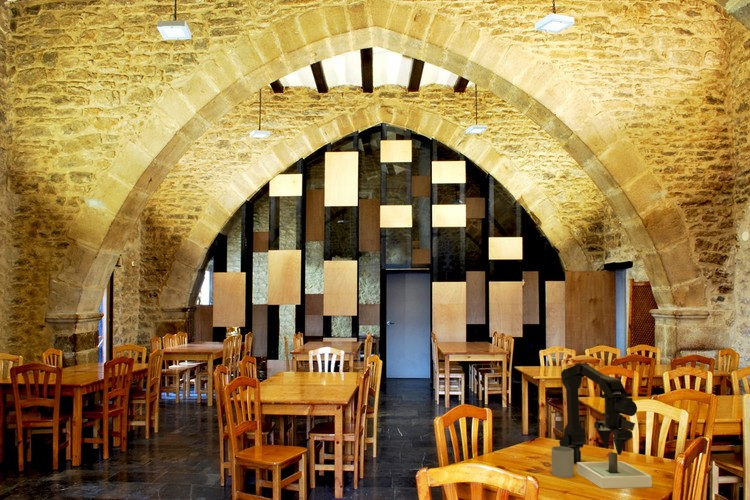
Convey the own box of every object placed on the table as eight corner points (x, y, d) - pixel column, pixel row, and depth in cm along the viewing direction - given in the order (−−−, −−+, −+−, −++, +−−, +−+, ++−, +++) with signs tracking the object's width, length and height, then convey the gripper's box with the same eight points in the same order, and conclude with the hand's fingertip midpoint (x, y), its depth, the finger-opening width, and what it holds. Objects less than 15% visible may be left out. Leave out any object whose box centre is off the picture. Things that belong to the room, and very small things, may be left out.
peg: (611, 478, 231) (611, 454, 232) (607, 475, 234) (607, 452, 235) (619, 478, 232) (619, 454, 232) (614, 475, 235) (614, 452, 236)
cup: (573, 472, 241) (573, 447, 242) (573, 478, 233) (573, 452, 234) (552, 470, 244) (552, 445, 245) (551, 476, 236) (551, 450, 237)
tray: (601, 488, 222) (601, 477, 222) (576, 472, 242) (576, 462, 242) (651, 487, 224) (651, 476, 225) (622, 471, 244) (622, 461, 244)
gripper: (645, 415, 227) (645, 457, 225) (618, 406, 245) (619, 445, 244) (617, 416, 225) (618, 458, 224) (593, 406, 244) (593, 445, 242)
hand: (613, 451), depth 234 cm, fingers open, 9 cm apart
